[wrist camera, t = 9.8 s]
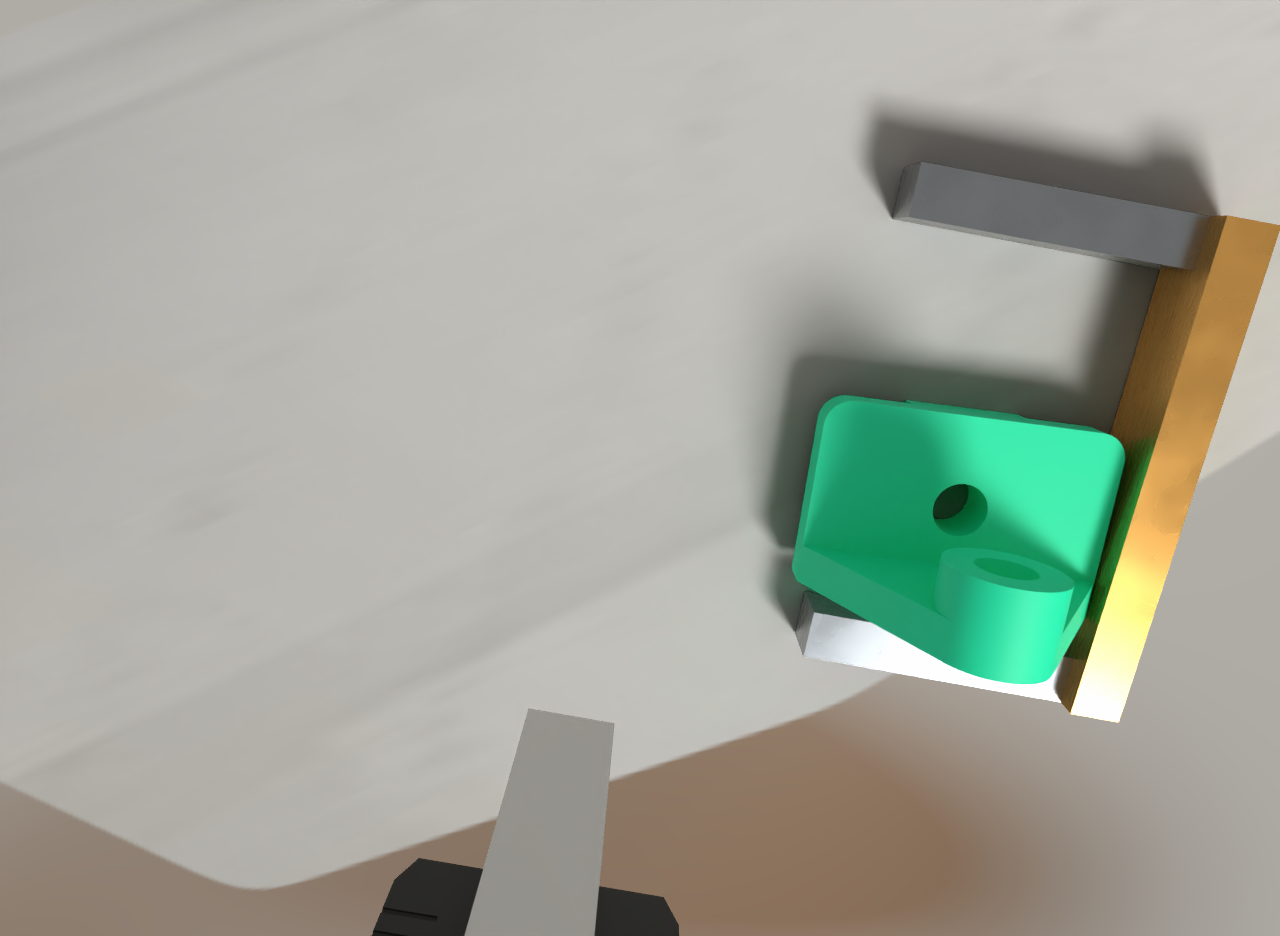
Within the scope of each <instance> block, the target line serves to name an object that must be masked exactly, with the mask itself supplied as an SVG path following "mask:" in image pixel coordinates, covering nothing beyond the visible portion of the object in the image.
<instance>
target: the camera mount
mask: <svg viewBox="0 0 1280 936" xmlns="http://www.w3.org/2000/svg"><path fill="white" fill-rule="evenodd" d="M1124 463H1125V451H1124V448H1123V446H1122V444H1121V443H1120V442H1119V440H1117V439H1116V438H1115V437H1113V436H1111V435H1109V434H1107V433H1104V432H1102V431H1099V430H1097V429H1095V428H1092V427H1089V426H1082V425H1074V424H1067V423H1059V422H1051V421H1043V420H1036V419H1028V418H1024V417H1022V416H1020V415H1018V414H1011V413H1003V412H996V411H988V410H980V409H972V408H965V407H957V406H949V405H941V404H934V403H926V402H918V401H910V400H906V401H905V403H904V402H896V401H889V400H881V399H873V398H865V397H858V396H850V395H841V396H836V397H834V398H832V399H830V400H829V401H827V402H826V403H825V404H824V405H823V407H822V408H821V410H820V412H819V414H818V418H817V424H816V429H815V435H814V441H813V447H812V453H811V458H810V464H809V470H808V476H807V481H806V487H805V493H804V499H803V504H802V510H801V516H800V522H799V528H798V533H797V539H796V545H795V551H794V556H793V562H792V568H791V569H792V571H793V573H794V576H795V578H796V581H798V582H800V583H801V584H803V585H805V586H807V587H809V588H810V589H812V590H814V591H816V592H818V593H819V594H821V595H823V596H825V597H827V598H828V599H830V600H832V601H834V602H836V603H837V604H839V605H841V606H843V607H844V608H846V609H848V610H850V611H852V612H853V613H855V614H857V615H859V616H861V617H862V618H864V619H866V620H868V621H870V622H871V623H873V624H875V625H877V626H879V627H880V628H882V629H884V630H886V631H888V632H889V633H891V634H893V635H895V636H897V637H898V638H900V639H902V640H904V641H905V642H907V643H909V644H911V645H913V646H914V647H916V648H918V649H920V650H922V651H923V652H925V653H927V654H929V655H931V656H932V657H934V658H936V659H938V660H940V661H941V662H943V663H945V664H947V665H949V666H951V667H953V668H955V669H957V670H960V671H962V672H965V673H968V674H970V675H973V676H977V677H980V678H984V679H987V680H992V681H996V682H1002V683H1008V684H1019V685H1031V684H1039V683H1043V682H1045V681H1047V680H1049V679H1050V678H1051V677H1052V675H1053V673H1054V672H1055V670H1056V668H1057V666H1058V665H1059V663H1060V661H1061V659H1062V658H1063V656H1064V654H1065V652H1066V651H1067V649H1068V647H1069V645H1070V644H1071V642H1072V640H1073V638H1074V637H1075V635H1076V633H1077V631H1078V630H1079V628H1080V626H1081V624H1082V623H1083V621H1084V619H1085V618H1086V614H1087V610H1088V606H1089V602H1090V598H1091V594H1092V590H1093V586H1094V582H1095V578H1096V574H1097V570H1098V566H1099V562H1100V558H1101V554H1102V550H1103V546H1104V542H1105V538H1106V534H1107V531H1108V527H1109V523H1110V519H1111V515H1112V511H1113V507H1114V503H1115V499H1116V495H1117V491H1118V487H1119V483H1120V479H1121V475H1122V471H1123V467H1124ZM957 484H967V487H968V499H967V502H966V504H965V506H964V507H963V509H962V510H961V511H960V512H959V513H958V514H956V515H955V516H953V517H950V518H947V519H934V518H933V506H934V503H935V501H936V499H937V497H938V496H939V495H940V493H941V492H943V491H944V490H945V489H947V488H948V487H950V486H953V485H957Z"/></svg>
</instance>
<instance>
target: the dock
mask: <svg viewBox="0 0 1280 936" xmlns="http://www.w3.org/2000/svg"><path fill="white" fill-rule="evenodd" d="M892 219H896V220H901V221H906V222H912V223H917V224H922V225H928V226H933V227H938V228H944V229H949V230H954V231H960V232H965V233H970V234H976V235H981V236H986V237H992V238H997V239H1002V240H1008V241H1013V242H1018V243H1024V244H1029V245H1034V246H1040V247H1045V248H1050V249H1056V250H1061V251H1066V252H1072V253H1077V254H1082V255H1088V256H1093V257H1098V258H1104V259H1109V260H1114V261H1120V262H1125V263H1130V264H1136V265H1141V266H1146V267H1152V268H1157V269H1160V272H1159V275H1158V278H1157V282H1156V285H1155V288H1154V292H1153V295H1152V298H1151V301H1150V305H1149V308H1148V311H1147V315H1146V318H1145V321H1144V325H1143V328H1142V331H1141V335H1140V338H1139V341H1138V344H1137V348H1136V351H1135V354H1134V358H1133V361H1132V364H1131V368H1130V371H1129V374H1128V378H1127V381H1126V384H1125V387H1124V391H1123V394H1122V397H1121V401H1120V404H1119V407H1118V411H1117V414H1116V417H1115V421H1114V424H1113V427H1112V430H1111V434H1110V435H1111V436H1113V437H1115V438H1116V439H1117V440H1119V442H1120V443H1121V444H1122V446H1123V448H1124V451H1125V463H1124V467H1123V471H1122V475H1121V479H1120V483H1119V487H1118V491H1117V495H1116V499H1115V503H1114V507H1113V511H1112V515H1111V519H1110V523H1109V527H1108V531H1107V534H1106V538H1105V542H1104V546H1103V550H1102V554H1101V558H1100V562H1099V566H1098V570H1097V574H1096V578H1095V582H1094V586H1093V590H1092V594H1091V598H1090V602H1089V606H1088V610H1087V614H1086V618H1085V619H1084V621H1083V623H1082V624H1081V626H1080V628H1079V630H1078V631H1077V633H1076V635H1075V637H1074V638H1073V640H1072V642H1071V644H1070V645H1069V647H1068V649H1067V651H1066V652H1065V654H1064V656H1063V658H1062V659H1061V661H1060V663H1059V665H1058V666H1057V668H1056V670H1055V672H1054V673H1053V675H1052V677H1051V678H1050V679H1049V680H1047V681H1045V682H1043V683H1039V684H1031V685H1019V684H1008V683H1002V682H996V681H992V680H987V679H984V678H980V677H977V676H973V675H970V674H968V673H965V672H962V671H960V670H957V669H955V668H953V667H951V666H949V665H947V664H945V663H943V662H941V661H940V660H938V659H936V658H934V657H932V656H931V655H929V654H927V653H925V652H923V651H922V650H920V649H918V648H916V647H914V646H913V645H911V644H909V643H907V642H905V641H904V640H902V639H900V638H898V637H897V636H895V635H893V634H891V633H889V632H888V631H886V630H884V629H882V628H880V627H879V626H877V625H875V624H873V623H871V622H870V621H868V620H866V619H864V618H862V617H861V616H859V615H857V614H855V613H853V612H852V611H850V610H848V609H846V608H844V607H843V606H841V605H839V604H837V603H836V602H834V601H832V600H830V599H828V598H827V597H825V596H823V595H821V594H819V593H814V592H808V591H805V593H804V597H803V601H802V605H801V610H800V614H799V618H798V623H797V627H796V631H795V634H796V637H797V640H798V642H799V645H800V648H801V651H802V654H803V657H808V658H814V659H819V660H825V661H831V662H836V663H842V664H848V665H853V666H859V667H864V668H870V669H876V670H881V671H887V672H893V673H898V674H905V675H910V676H915V677H921V678H927V679H932V680H938V681H944V682H949V683H956V684H961V685H966V686H972V687H978V688H983V689H989V690H995V691H1000V692H1006V693H1012V694H1017V695H1023V696H1029V697H1034V698H1040V699H1046V700H1051V701H1057V702H1061V703H1062V704H1063V705H1064V706H1065V708H1066V709H1067V710H1068V711H1069V712H1070V713H1071V714H1076V715H1081V716H1087V717H1093V718H1098V719H1104V720H1110V721H1115V722H1119V719H1120V716H1121V712H1122V710H1123V706H1124V703H1125V700H1126V697H1127V694H1128V691H1129V688H1130V685H1131V682H1132V679H1133V676H1134V673H1135V670H1136V667H1137V664H1138V661H1139V657H1140V655H1141V652H1142V648H1143V646H1144V643H1145V640H1146V637H1147V633H1148V630H1149V627H1150V624H1151V621H1152V618H1153V615H1154V612H1155V609H1156V606H1157V603H1158V600H1159V597H1160V594H1161V591H1162V588H1163V585H1164V582H1165V578H1166V575H1167V572H1168V569H1169V566H1170V563H1171V560H1172V557H1173V554H1174V551H1175V548H1176V545H1177V542H1178V539H1179V536H1180V533H1181V530H1182V527H1183V523H1184V521H1185V518H1186V514H1187V511H1188V508H1189V505H1190V502H1191V499H1192V496H1193V493H1194V490H1195V487H1196V484H1197V481H1198V478H1199V475H1200V472H1201V469H1202V466H1203V463H1204V460H1205V457H1206V454H1207V451H1208V447H1209V444H1210V441H1211V438H1212V435H1213V432H1214V429H1215V426H1216V423H1217V420H1218V417H1219V414H1220V411H1221V408H1222V405H1223V402H1224V399H1225V396H1226V393H1227V390H1228V387H1229V383H1230V380H1231V377H1232V374H1233V371H1234V368H1235V365H1236V362H1237V359H1238V356H1239V353H1240V350H1241V347H1242V344H1243V341H1244V338H1245V335H1246V332H1247V329H1248V326H1249V322H1250V319H1251V316H1252V313H1253V310H1254V307H1255V304H1256V301H1257V298H1258V295H1259V292H1260V289H1261V286H1262V283H1263V280H1264V277H1265V274H1266V271H1267V268H1268V265H1269V261H1270V258H1271V255H1272V252H1273V249H1274V246H1275V243H1276V240H1277V237H1278V234H1279V231H1280V225H1275V224H1270V223H1264V222H1259V221H1254V220H1249V219H1243V218H1238V217H1233V216H1207V215H1202V214H1196V213H1191V212H1186V211H1180V210H1175V209H1170V208H1165V207H1159V206H1154V205H1149V204H1143V203H1138V202H1133V201H1127V200H1122V199H1117V198H1112V197H1106V196H1101V195H1096V194H1090V193H1085V192H1080V191H1075V190H1069V189H1064V188H1059V187H1053V186H1048V185H1043V184H1037V183H1032V182H1027V181H1022V180H1016V179H1011V178H1006V177H1000V176H995V175H990V174H985V173H979V172H974V171H969V170H963V169H958V168H953V167H947V166H942V165H937V164H932V163H926V162H919V163H916V164H913V165H910V166H907V167H904V171H903V175H902V180H901V184H900V188H899V192H898V197H897V201H896V205H895V209H894V214H893V218H892Z"/></svg>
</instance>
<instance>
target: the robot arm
mask: <svg viewBox="0 0 1280 936" xmlns="http://www.w3.org/2000/svg"><path fill="white" fill-rule="evenodd" d="M613 732H614V723H609V722H603V721H597V720H592V719H586V718H580V717H574V716H569V715H563V714H557V713H551V712H546V711H540V710H534V709H528V713H527V716H526V720H525V723H524V727H523V730H522V734H521V737H520V741H519V744H518V748H517V752H516V755H515V759H514V762H513V766H512V769H511V773H510V776H509V780H508V783H507V787H506V790H505V794H504V798H503V801H502V805H501V808H500V812H499V815H498V819H497V822H496V826H495V829H494V833H493V836H492V840H491V844H490V848H489V851H488V855H487V858H486V861H485V865H484V868H483V869H480V868H473V867H468V866H462V865H456V864H450V863H444V862H439V861H433V860H427V859H421V858H419V859H417V860H416V861H415V862H414V863H413V864H412V865H411V866H410V867H408V869H406V870H405V871H404V872H403V873H402V874H401V875H399V876H398V877H397V878H396V879H395V880H394V882H393V885H392V887H391V889H390V892H389V894H388V897H387V899H386V902H385V904H384V906H383V910H382V913H380V916H379V918H378V921H377V923H376V926H375V928H374V930H373V935H372V936H679V925H678V923H677V921H676V919H675V918H674V916H673V914H672V912H671V910H670V908H669V906H668V905H667V903H666V901H665V899H664V897H659V896H653V895H647V894H642V893H635V892H630V891H624V890H618V889H612V888H606V887H600V886H599V880H600V870H601V859H602V849H603V839H604V828H605V817H606V806H607V795H608V785H609V775H610V764H611V753H612V743H613Z"/></svg>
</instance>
